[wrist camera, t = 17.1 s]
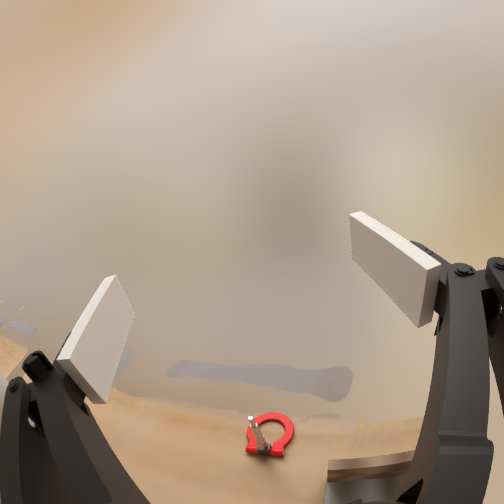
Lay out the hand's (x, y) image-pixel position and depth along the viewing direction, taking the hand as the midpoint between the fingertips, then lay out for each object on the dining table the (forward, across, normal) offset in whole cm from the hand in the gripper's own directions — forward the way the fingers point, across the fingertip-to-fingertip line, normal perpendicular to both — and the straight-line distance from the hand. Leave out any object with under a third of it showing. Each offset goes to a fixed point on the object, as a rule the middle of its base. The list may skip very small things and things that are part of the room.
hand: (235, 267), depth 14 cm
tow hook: (+11, -3, -40) cm, 42 cm away
